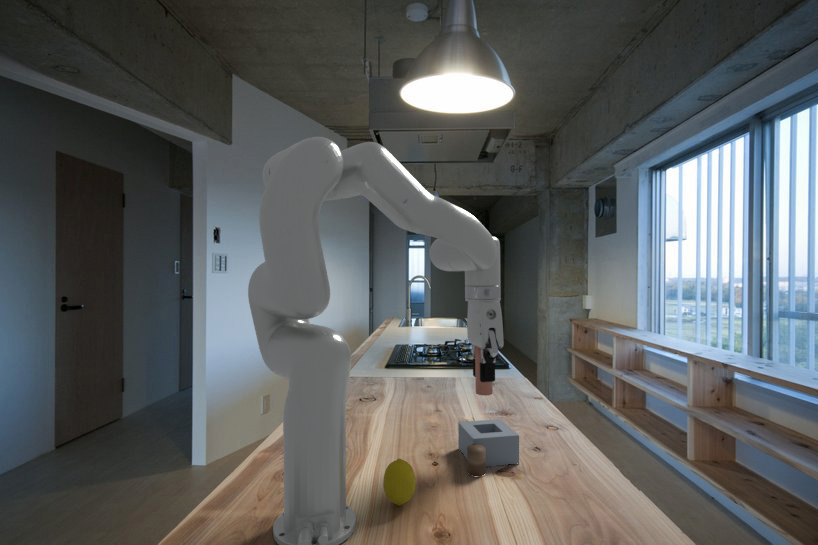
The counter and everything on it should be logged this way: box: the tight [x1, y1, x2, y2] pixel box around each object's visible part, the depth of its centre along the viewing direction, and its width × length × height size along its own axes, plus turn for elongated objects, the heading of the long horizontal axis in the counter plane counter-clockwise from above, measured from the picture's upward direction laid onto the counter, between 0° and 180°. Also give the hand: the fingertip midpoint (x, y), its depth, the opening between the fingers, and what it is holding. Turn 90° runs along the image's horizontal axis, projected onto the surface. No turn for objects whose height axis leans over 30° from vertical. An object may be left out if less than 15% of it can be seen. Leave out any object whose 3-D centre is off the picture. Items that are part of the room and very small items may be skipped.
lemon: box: [382, 458, 417, 507], centre depth 75 cm, size 6×6×8 cm
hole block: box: [457, 418, 520, 467], centre depth 95 cm, size 10×10×6 cm
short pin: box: [466, 444, 487, 476], centre depth 87 cm, size 4×4×5 cm
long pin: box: [474, 345, 494, 396], centre depth 94 cm, size 4×4×11 cm
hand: (483, 378), depth 94 cm, fingers closed on long pin, 3 cm apart
